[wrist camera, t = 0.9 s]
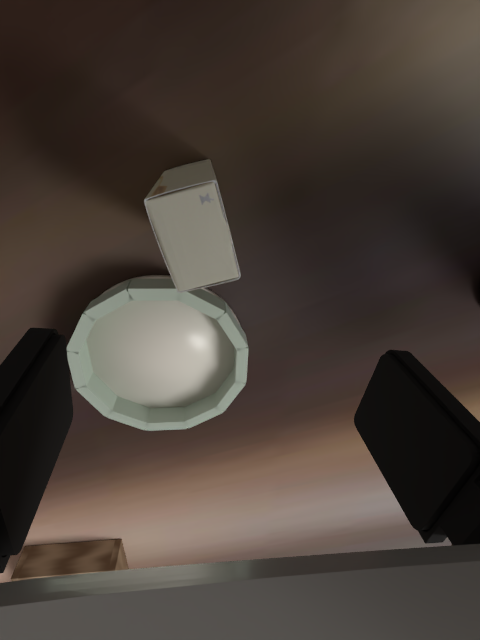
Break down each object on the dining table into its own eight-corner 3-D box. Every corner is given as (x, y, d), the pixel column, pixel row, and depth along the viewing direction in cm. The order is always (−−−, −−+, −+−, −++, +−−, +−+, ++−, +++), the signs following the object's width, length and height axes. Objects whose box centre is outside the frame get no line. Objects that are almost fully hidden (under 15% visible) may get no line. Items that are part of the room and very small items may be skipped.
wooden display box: (121, 538, 55) (115, 570, 51) (132, 583, 62) (127, 613, 58) (24, 546, 53) (10, 579, 49) (47, 590, 60) (36, 622, 56)
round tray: (248, 275, 34) (252, 288, 31) (240, 406, 43) (243, 426, 40) (63, 274, 32) (49, 288, 29) (95, 411, 41) (86, 433, 38)
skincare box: (162, 170, 28) (137, 192, 18) (211, 157, 28) (215, 172, 18) (185, 242, 32) (176, 297, 21) (229, 230, 31) (242, 280, 21)
